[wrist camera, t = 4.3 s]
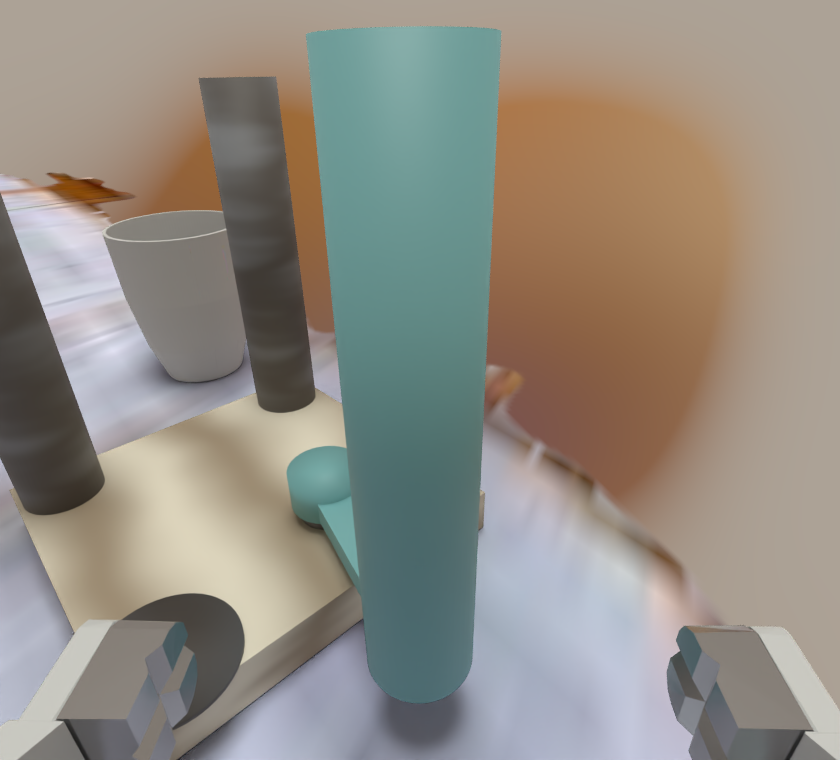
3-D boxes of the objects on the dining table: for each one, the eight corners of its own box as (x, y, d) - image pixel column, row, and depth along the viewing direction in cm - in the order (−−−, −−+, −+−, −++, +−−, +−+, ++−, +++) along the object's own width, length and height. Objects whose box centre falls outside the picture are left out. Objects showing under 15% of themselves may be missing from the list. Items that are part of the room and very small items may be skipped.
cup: (257, 334, 44) (235, 206, 39) (271, 380, 38) (246, 232, 33) (147, 352, 42) (109, 217, 37) (141, 403, 35) (94, 247, 30)
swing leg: (280, 490, 24) (203, 54, 16) (350, 467, 25) (310, 54, 17) (395, 724, 15) (350, 25, 7) (493, 670, 16) (542, 28, 9)
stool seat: (130, 818, 15) (-266, 88, 7) (10, 530, 25) (-212, 86, 17) (493, 533, 25) (523, 72, 16) (300, 404, 35) (254, 77, 26)
